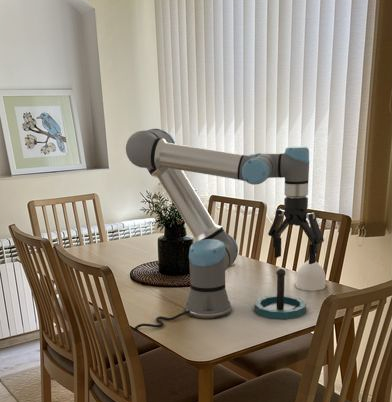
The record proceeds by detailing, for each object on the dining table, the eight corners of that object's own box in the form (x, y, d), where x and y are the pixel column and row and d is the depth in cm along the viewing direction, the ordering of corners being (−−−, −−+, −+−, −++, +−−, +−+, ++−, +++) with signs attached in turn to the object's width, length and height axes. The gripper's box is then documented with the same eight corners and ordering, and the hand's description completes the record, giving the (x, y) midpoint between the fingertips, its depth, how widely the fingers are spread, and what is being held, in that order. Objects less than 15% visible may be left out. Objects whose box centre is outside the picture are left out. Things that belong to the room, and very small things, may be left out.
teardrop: (315, 280, 213) (317, 250, 209) (331, 288, 203) (332, 257, 199) (290, 283, 210) (291, 253, 206) (304, 292, 200) (305, 260, 196)
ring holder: (283, 316, 179) (284, 273, 174) (263, 310, 184) (263, 269, 179) (296, 309, 184) (298, 267, 179) (277, 304, 189) (278, 263, 184)
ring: (286, 323, 173) (286, 315, 172) (245, 311, 184) (245, 304, 183) (314, 308, 184) (315, 302, 183) (274, 298, 195) (274, 292, 194)
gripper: (336, 197, 171) (333, 263, 178) (271, 191, 187) (270, 252, 194) (323, 201, 166) (321, 268, 173) (258, 194, 182) (258, 256, 189)
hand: (294, 260), depth 184 cm, fingers open, 13 cm apart
